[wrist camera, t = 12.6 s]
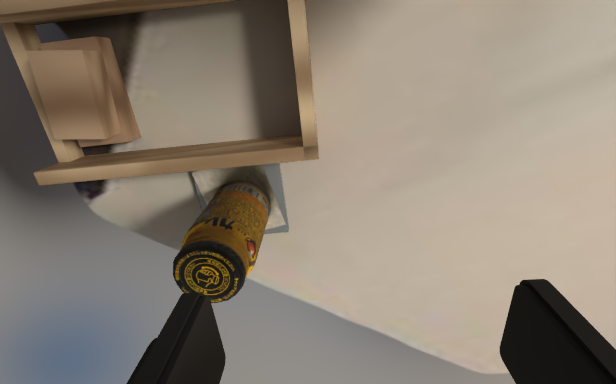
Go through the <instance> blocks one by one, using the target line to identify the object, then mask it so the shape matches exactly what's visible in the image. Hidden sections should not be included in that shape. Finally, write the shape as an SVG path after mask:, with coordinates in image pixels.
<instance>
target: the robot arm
mask: <svg viewBox="0 0 616 384" xmlns="http://www.w3.org/2000/svg"><path fill="white" fill-rule="evenodd" d="M500 354H501V358H502V360H503V362H504V364H505V365H506V367H507V369H508V371H509V372H510V374H511V376H512V377H513V379H514V381H515V383H516V384H616V350H615V349H614V348H613V346H612V345H611V344H610V343H609V342H608V341H607V340H606V339H605V338H604V337H603V336H602V335H601V334H600V333H599V332H598V331H597V330H596V329H595V328H594V327H593V326H592V325H591V324H590V323H589V322H588V321H587V320H586V319H585V318H584V317H583V316H582V315H581V314H580V313H579V312H578V311H577V310H576V309H575V308H574V307H573V306H572V305H571V304H570V303H569V302H568V301H567V299H566V298H565V297H564V296H563V295H562V294H561V293H560V292H559V291H558V290H557V289H556V288H555V287H554V286H553V285H552V284H551V283H550V282H549V281H547V280H545V279H536V280H522V281H521V282H520V285H517V286H516V287H515V289H514V293H513V297H512V301H511V305H510V309H509V313H508V317H507V321H506V325H505V329H504V333H503V337H502V341H501V345H500ZM224 366H225V352H224V349H223V345H222V341H221V338H220V334H219V331H218V327H217V323H216V319H215V316H214V312H213V309H212V305H211V301H210V298H209V297H205V296H204V294H203V292H192V293H183V294H182V295H181V297H180V298H179V300H178V302H177V304H176V306H175V308H174V309H173V311H172V313H171V315H170V316H169V318H168V320H167V322H166V323H165V325H164V327H163V329H162V331H161V332H160V334H159V336H158V338H155V339H154V340H153V341H152V342H151V343H150V345H149V346H148V348H147V349H146V351H145V353H144V355H143V356H142V358H141V360H140V361H139V363H138V365H137V367H136V369H135V370H134V372H133V374H132V375H131V377H130V379H129V381H128V383H127V384H219V383H220V380H221V376H222V373H223V370H224Z"/></svg>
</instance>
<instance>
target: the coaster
mask: <svg viewBox="0 0 616 384" xmlns="http://www.w3.org/2000/svg"><path fill="white" fill-rule="evenodd" d="M262 165H263V167H264V170H265V172H266V175H267V178H268V180H269V183H270V185H271V188H272V190H273V193H274V195H275V198H276V200H277V203H278V205H279V208H280V210H281V213H282V216H283V218H284V221H285V223H286V224H285V225H282V226H278V227H275V228H271V229H266V230H265V231H264V234H268V233H280V232H289V226H288V219H287V212H286V205H285V198H284V191H283V184H282V177H281V170H280V163H272V164H262ZM198 171H199V170H198ZM193 172H196V171H192V173H193ZM193 178H194V177H193ZM194 182H195V180H194ZM219 185H220V184H219ZM195 186H196V190H197V194H198V198H199V201H200V205H201V209H202V212H203V211H204V209H205V208H206V206H207V204H206V202H205V200H204V198H203V196H202V194H201V192H200V190H199V188H198V185H197V184H196V182H195Z"/></svg>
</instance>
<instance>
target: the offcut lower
mask: <svg viewBox="0 0 616 384" xmlns="http://www.w3.org/2000/svg"><path fill="white" fill-rule="evenodd" d="M39 46H40V48H41V51H46V50H89V51H102V54H103V58H104V62H105V67H106V71H107V75H108V79H109V83H110V88H111V92H112V96H113V100H114V105H115V109H116V113H117V117H118V121H119V126H120V130H121V133H120V134H118V135H115V136H112V137H110V138H107V139H77V141H78V143H79V146H80V147H87V146H96V145H105V144H114V143H123V142H131V141H133V140H135V139H138V138H140V137H141V135H140V132H139V128H138V125H137V122H136V119H135V116H134V113H133V110H132V107H131V103H130V100H129V97H128V94H127V91H126V88H125V85H124V82H123V78H122V75H121V72H120V69H119V66H118V63H117V60H116V57H115V53H114V50H113V47H112V44H111V41H110V38H106V37H98V36H93V37H86V38H78V39H70V40H63V41H55V42H48V43H40V44H39Z"/></svg>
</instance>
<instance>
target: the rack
mask: <svg viewBox="0 0 616 384" xmlns="http://www.w3.org/2000/svg"><path fill="white" fill-rule="evenodd" d="M228 1H236V0H0V25H1V27H2V29H3V32H4V34H5V36H6V39H7V41H8V43H9V46H10V48H11V51H12V53H13V55H14V58H15V60H16V62H17V65H18V67H19V69H20V72H21V74H22V77H23V79H24V81H25V83H26V86H27V88H28V91H29V93H30V95H31V98H32V100H33V103H34V105H35V107H36V110H37V112H38V114H39V117H40V119H41V122H42V124H43V126H44V129H45V131H46V133H47V136H48V138H49V140H50V143H51V145H52V148H53V150H54V152H55V155H56V157H57V159H58V161H59V163H57V164H54V165H52V166H49V167H47V168H44V169H42V170H39V171H37V172H34V175H35V177H36V179H37V182H38V184H39V185H48V184H59V183H69V182H80V181H91V180H102V179H112V178H123V177H134V176H144V175H155V174H166V173H176V172H187V171H198V170H208V169H219V168H230V167H240V166H251V165H262V164H272V163H283V162H294V161H304V160H315V159H319V154H318V141H317V130H316V119H315V108H314V97H313V86H312V75H311V64H310V53H309V42H308V31H307V20H306V9H305V0H287V1H288V10H289V19H290V29H291V38H292V47H293V56H294V65H295V74H296V84H297V93H298V102H299V111H300V120H301V129H302V135H292V136H282V137H272V138H262V139H251V140H241V141H231V142H221V143H211V144H200V145H190V146H180V147H170V148H159V149H149V150H139V151H129V152H119V153H108V154H98V155H88V156H84V153H83V150H82V148H81V147H80V146H79V143H78V141H77V139H58V140H55V139H54V136H53V133H52V130H51V127H50V124H49V121H48V118H47V114H46V111H45V108H44V105H43V102H42V99H41V96H40V93H39V90H38V87H37V84H36V80H35V77H34V74H33V71H32V68H31V65H30V62H29V59H28V56H27V53H26V51H41V48H40V46H39V44H40V43H41V42H40V39H39V37H38V34H37V32H36V29H35V26H34V25H37V24H45V23H54V22H63V21H71V20H79V19H87V18H96V17H104V16H112V15H120V14H129V13H137V12H145V11H153V10H162V9H170V8H178V7H186V6H195V5H203V4H211V3H219V2H228Z"/></svg>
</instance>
